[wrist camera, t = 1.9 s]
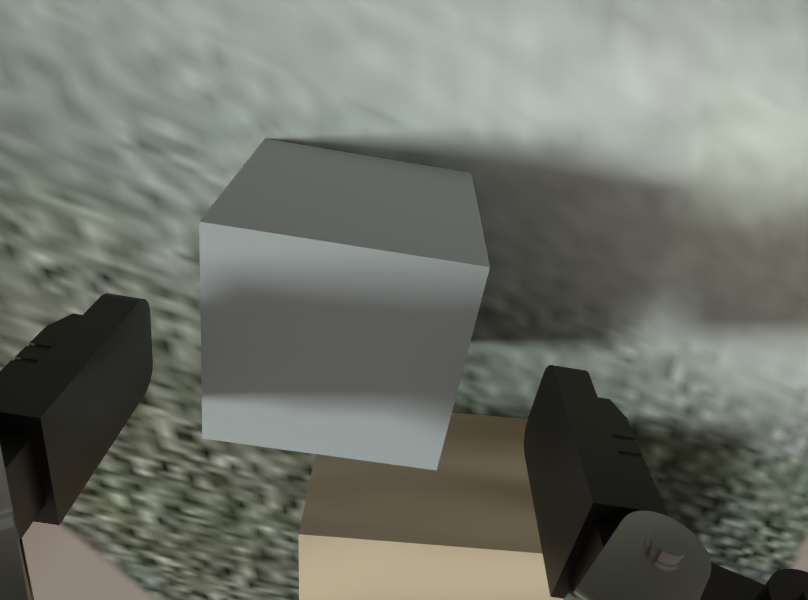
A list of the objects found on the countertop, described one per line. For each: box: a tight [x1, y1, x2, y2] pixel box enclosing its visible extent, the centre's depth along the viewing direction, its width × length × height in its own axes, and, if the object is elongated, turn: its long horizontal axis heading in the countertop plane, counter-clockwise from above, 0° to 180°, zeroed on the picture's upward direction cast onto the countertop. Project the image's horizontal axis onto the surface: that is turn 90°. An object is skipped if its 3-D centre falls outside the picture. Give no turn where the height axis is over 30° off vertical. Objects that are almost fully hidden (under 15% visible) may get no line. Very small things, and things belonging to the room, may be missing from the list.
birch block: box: [299, 413, 564, 600], centre depth 19 cm, size 8×8×5 cm
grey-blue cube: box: [199, 138, 490, 470], centre depth 14 cm, size 5×5×5 cm
